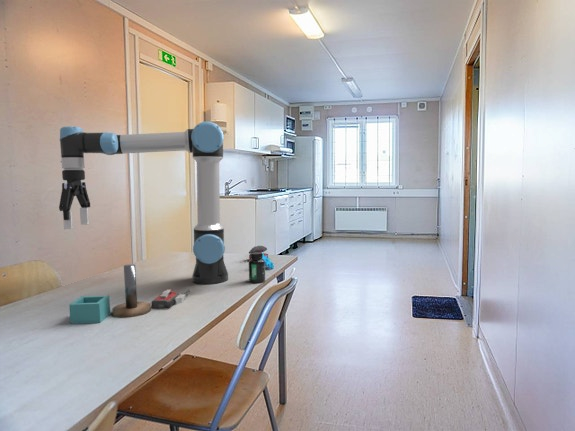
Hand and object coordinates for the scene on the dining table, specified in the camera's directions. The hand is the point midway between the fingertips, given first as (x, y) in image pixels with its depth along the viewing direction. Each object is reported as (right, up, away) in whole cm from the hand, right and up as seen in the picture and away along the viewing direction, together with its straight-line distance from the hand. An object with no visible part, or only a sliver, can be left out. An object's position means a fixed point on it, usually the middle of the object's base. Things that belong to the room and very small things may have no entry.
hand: (76, 226), depth 165 cm
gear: (+69, -21, +45) cm, 85 cm away
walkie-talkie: (+37, -27, -7) cm, 46 cm away
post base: (+27, -28, -18) cm, 43 cm away
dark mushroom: (+64, -19, +64) cm, 93 cm away
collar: (+16, -29, -25) cm, 41 cm away
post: (+27, -26, -18) cm, 42 cm away
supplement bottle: (+66, -24, +20) cm, 73 cm away
